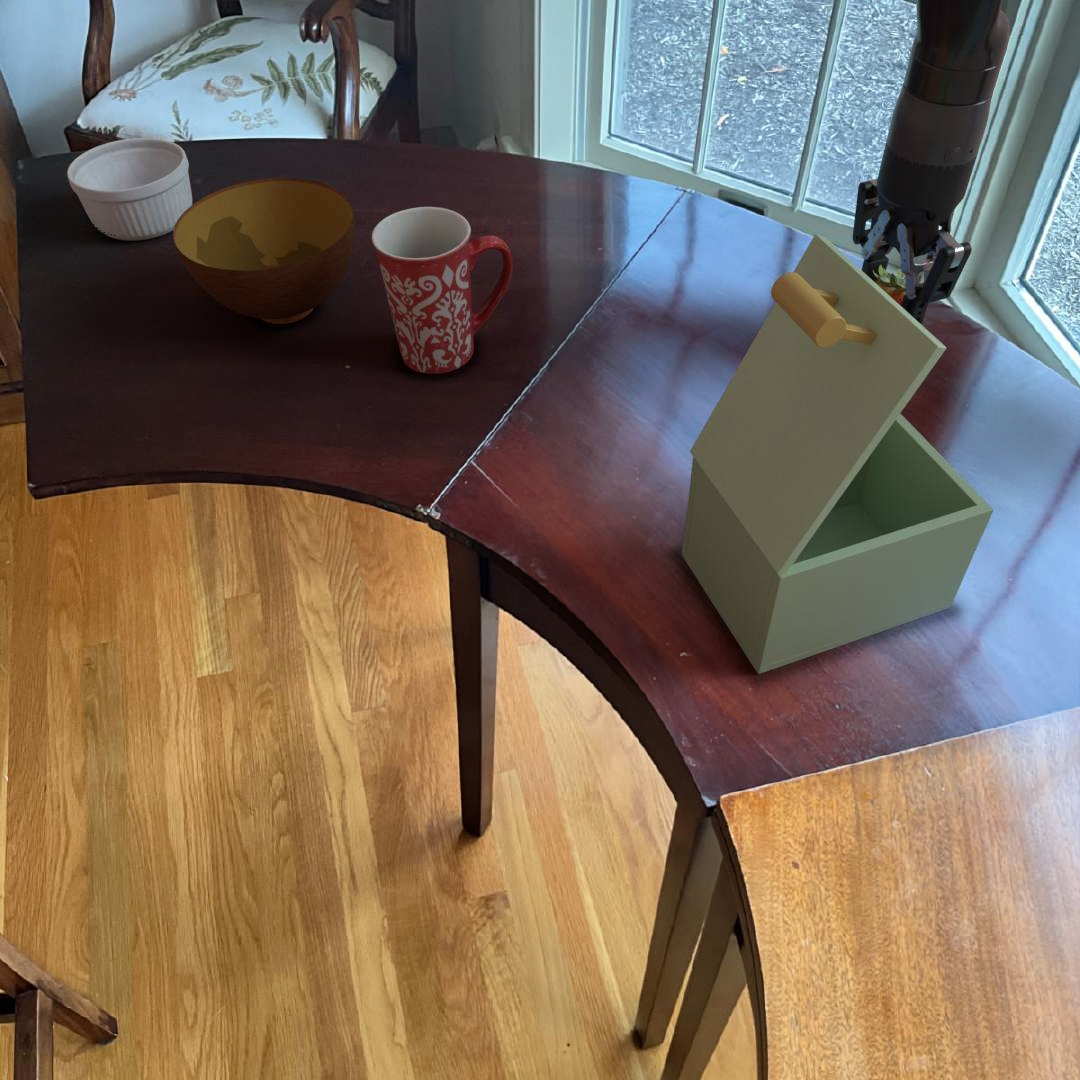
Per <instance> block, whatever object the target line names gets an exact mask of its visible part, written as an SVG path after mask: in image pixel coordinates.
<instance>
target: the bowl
mask: <svg viewBox="0 0 1080 1080" xmlns="http://www.w3.org/2000/svg"><path fill="white" fill-rule="evenodd" d="M355 237H356V221H355V214H354V209H353V206H352V203H351V202H350V200H349V199H348V197H347V196H346V195H345V194H344V193H343V192H341V191H340V190H338V189H336V188H334V187H333V186H331V185H328V184H326V183H322V182H319V181H316V180H312V179H307V178H306V179H305V178H295V177H273V178H261V179H256V180H249V181H245V182H241V183H237V184H233V185H229V186H227V187H223V188H222V189H219V190H217V191H213V192H212V193H210V194H207V195H206V196H204V197H202V198H200V199H198V200H197V201H196V202H194V203H192V206H190V207H189V208H188V209H187V210H186V211H185V212H184V213H183V214H182V215H181V216H180V218H179V219H178V220H177V222H176V224H175V227H174V230H173V231H172V240H173V244H174V247H175V250H176V252H177V254H178V257H179V259H180V260H181V263H182V264H183V266H184V267H185V269H186V270H187V272H188V273H189V274H190V277H191V278H192V279H193V280H194V281H195V282H196V284H198V286H200V287H201V289H202V290H203V291H204V292H206V294H208V295H209V296H210V297H211V298H213V299H214V300H215V301H216V302H217V303H219V304H221V305H222V306H224V307H225V308H227V309H229V310H230V311H233V312H235V313H237V314H239V315H242V316H247V317H250V318H254V319H260V320H262V321H264V322H266V323H269V324H275V325H284V324H290V323H291V324H292V323H295V322H298V321H300V320H302V319H304V318H305V317H307V316H308V315H310V314H311V313H312V311H313V310H314V308H316V307H318V306H319V305H321V304H322V303H323V302H325V301H326V300H328V298H329V297H330V296H332V295H333V293H335V291H336V289H337V288H338V286H339V285H340V283H341V282H342V280H343V278H344V276H345V274H346V272H347V271H348V270H347V269H348V266H349V264H350V260H351V258H352V254H353V250H354V245H355Z"/></svg>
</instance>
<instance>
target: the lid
mask: <svg viewBox="0 0 1080 1080" xmlns="http://www.w3.org/2000/svg"><path fill="white" fill-rule="evenodd" d="M770 295H771V298H772V300H773V301H774V302H775V303H774V305H773V306H772V308H771V310H770V312H769V313H768V315H767V317H766V318H765V319H764V322H763V323H762V325H761V327H760V329H759V330H758V332H757V334H756V336H755V337H754V339H753V341H752V343H751V344H750V346H749V348H748V349H747V351H746V353H745V354H744V357H743V359H742V360H741V362H740V364H739V365H738V366H737V369H736V370H735V372H734V374H733V376H732V378H731V379H730V380H729V382H728V384H727V386H726V387H725V389H724V391H723V392H722V394H721V396H720V398H719V400H718V401H717V403H716V405H715V407H714V409H713V410H712V412H711V414H710V416H709V417H708V419H707V420H706V422H705V424H704V426H702V427H703V428H702V429H701V431H700V433H699V435H698V436H697V438H696V439H695V441H694V443H693V445H692V447H691V448H690V450H689V453H690V454H691V455H692V458H693V457H694V458H695V460H696V461H697V462H698V464H699V465H700V467H701V468H702V469H703V471H704V472H705V474H706V475H707V476H708V478H709V479H710V480H711V482H712V483H713V485H714V486H715V487H716V489H717V490H718V492H719V493H720V494H721V496H722V497H723V499H724V500H725V501H726V503H727V504H728V506H729V507H730V508H731V510H732V511H733V513H734V514H735V515H736V517H737V518H738V519H739V521H740V522H741V524H742V525H743V526H744V528H745V529H746V531H747V532H748V533H749V535H750V536H751V538H752V539H753V540H754V542H755V543H756V545H757V546H758V547H759V549H760V550H761V551H762V553H763V554H764V556H765V557H766V558H767V560H768V561H769V563H770V564H771V565H772V567H773V568H774V570H775V571H776V572H777V573H783V574H785V573H787V571H788V570H789V568H790V567H791V566H792V564H793V563H794V561H795V560H796V559H797V557H798V556H799V554H800V553H801V552H802V550H803V549H804V547H805V546H806V545H807V543H808V542H809V540H810V539H811V537H812V536H813V535H814V533H815V532H816V530H817V529H818V528H819V526H820V525H821V523H822V522H823V521H824V519H825V518H826V516H827V515H828V514H829V512H830V511H831V509H832V508H833V507H834V505H835V504H836V502H837V501H838V500H839V498H840V497H841V495H842V494H843V493H844V491H845V490H846V488H847V487H848V486H849V484H850V483H851V481H852V480H853V479H854V477H855V476H856V474H857V473H858V472H859V470H860V469H861V467H862V466H863V465H864V463H865V462H866V460H867V459H868V458H869V456H870V455H871V453H872V452H873V451H874V449H875V448H876V446H877V445H878V444H879V442H880V441H881V439H882V438H883V437H884V435H885V434H886V432H887V431H888V430H889V428H890V427H891V425H892V424H893V423H894V421H895V420H896V418H897V417H898V416H899V414H902V411H903V410H904V409H905V407H906V406H907V404H908V403H909V402H910V400H911V399H912V397H913V396H914V395H915V393H916V392H917V390H918V389H919V388H920V386H921V385H922V384H923V382H924V381H925V379H926V378H927V377H928V375H929V374H930V372H931V371H932V370H933V368H934V366H935V365H936V364H937V362H938V361H939V360H940V358H941V357H942V355H943V354H944V352H945V351H946V350H947V346H945V344H943V342H941V341H940V340H939V339H938V338H937V337H936V336H935V335H933V333H931V332H930V331H929V330H928V329H926V327H924V325H923V324H922V323H921V324H920V323H919V322H918V321H917V320H916V319H914V318H913V317H912V316H911V315H910V314H909V313H908V312H907V311H906V310H905V309H903V308H902V307H901V306H900V305H899V304H898V303H897V302H896V301H895V300H894V299H892V298H891V297H890V296H889V295H888V294H887V293H886V292H885V291H884V290H883V289H882V288H880V287H879V286H878V285H877V284H876V283H875V282H874V281H873V280H872V279H871V278H869V277H868V276H867V275H866V274H865V273H864V272H863V271H862V268H860V267H858V266H857V264H856V263H854V262H853V261H852V260H851V259H850V258H849V257H848V256H847V255H845V253H843V252H842V251H841V250H840V249H839V248H838V247H836V246H835V245H834V244H833V242H832V241H830V240H829V239H828V238H827V237H825V235H820V234H817V233H815V234H814V235H813V238H811V240H810V242H809V244H808V246H807V248H806V249H805V251H804V252H803V255H801V258H800V259H799V261H798V263H797V265H796V267H795V269H794V270H793V271H790V272H785V273H784V274H782V275H780V276H779V277H778V278H777V279H776V280H775V282H773V284H772V287H771V290H770Z"/></svg>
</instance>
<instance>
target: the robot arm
mask: <svg viewBox="0 0 1080 1080" xmlns="http://www.w3.org/2000/svg"><path fill="white" fill-rule="evenodd" d="M1002 4H1003V0H916V5H915V7H916V32H915V35H914V38H913V41H912V42H913V43H912V45H911V49H910V53H909V57H908V62H907V65H906V70H905V74H904V78H903V83H902V86H901V89H900V92H899V94H898V98H897V100H896V102H895V105H894V108H893V112H892V116H891V119H890V124H889V128H888V133H887V137H886V140H885V146H884V149H883V154H882V157H881V162H880V167H879V171H878V174H877V178H874V179H870V180H866V181H861V182H860V183H859V184H858V187H857V196H856V205H855V213H854V220H853V228H852V229H853V231H852V242H853V244H854V245H860V247H861V257H862V258H863V261H862V266H861V270H862V271H863V272H864V273H865V274H866V275H867V276H868V277H869V278H871V279H872V280H873V281H876V280H878V279H877V278H876V277H875V276H874V273H876V274H877V275H878V276H880V274H879V266H880V265H881V266H882V268H884V269H885V270H886V271H887V268H888V265H889V261H890V259H889V257H887V256H886V255H889V254H890V253H891V251H892V250H893V249H894V248H895V249H896V251H897V252H898V253H899V256H900V268H901V272H902V273H903V275H905V277H906V295H904V297H903V301H902V305H901V307H902V308H903V309H905V310H906V311H907V312H908V313H909V314H910V315H911V316H912V317H913V318H914V319H916V320H917V321H918V322H919V323H920V324H921V325H922V323H923V322H924V319H925V316H926V312H927V309H928V306H929V303H934V302H938V301H942V300H945V299H949V298H950V297H951V295H952V293H953V291H954V289H955V287H956V285H957V283H958V281H959V279H960V277H961V275H962V272H963V271H964V269H965V267H966V264H967V262H968V260H969V258H970V256H971V255H972V250H973V249H972V245H971V243H969V241H965V242H961V243H959V242H958V241H957V240H956V239H955V238H954V237H953V236H952V234H951V231H952V214H953V213H954V211H955V209H956V208H957V207H958V206H959V205H960V204H961V202H962V201H963V200H964V198H965V196H966V193H967V190H968V187H969V184H970V181H971V177H972V173H973V170H974V167H975V164H976V161H977V158H978V154H979V151H980V148H981V144H982V141H983V138H984V136H985V135H984V134H985V132H986V128H987V124H988V121H989V116H990V110H991V104H992V99H993V95H994V92H995V91H994V90H995V87H996V84H997V82H998V79H999V75H1000V71H1001V68H1002V64H1003V62H1004V59H1005V56H1006V52H1007V48H1008V44H1009V39H1010V32H1011V31H1010V29H1011V24H1010V21H1009V18H1008V17H1007V15H1006V13H1005V12H1004V11H1003V10H1002ZM869 220H870V228H867V229H866V225H867V222H868V221H869ZM925 255H926V257H925V258H924V259H922V260H918V261H915V258H917V257H921V256H925ZM873 270H874V273H873ZM920 273H923V282H921V283H919V282H918V276H920ZM880 277H881V276H880Z"/></svg>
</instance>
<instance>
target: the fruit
mask: <svg viewBox="0 0 1080 1080" xmlns="http://www.w3.org/2000/svg"><path fill="white" fill-rule="evenodd" d="M873 273H874V270H873ZM879 274H880V276H881V277H880V276H878V275H877V274H876V273H874V276H875V277H876V278H877V279H878V280H876V281H874V282H875V283H876V284H877V285H878V286H879V287H880V288H882V289H883V290H884V291H885V292H886V293H887V294H888V295H889V296H890V297H891V298H892V299H894V300H895V301H896V302H897V303H898V304H899V305H900V306H901V305H902V301H903V297H904V295H906V276H905V277H904V273H902V272H901V267H899V268H898V270H897V272H896V275H895V274H894V272H891V273H890V272H889V271H887V269H886V270H885V269H884V268H882V266H881V265H880V266H879ZM903 277H904V278H903ZM921 279H922V275H918V283H919V282H920V281H921Z"/></svg>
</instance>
